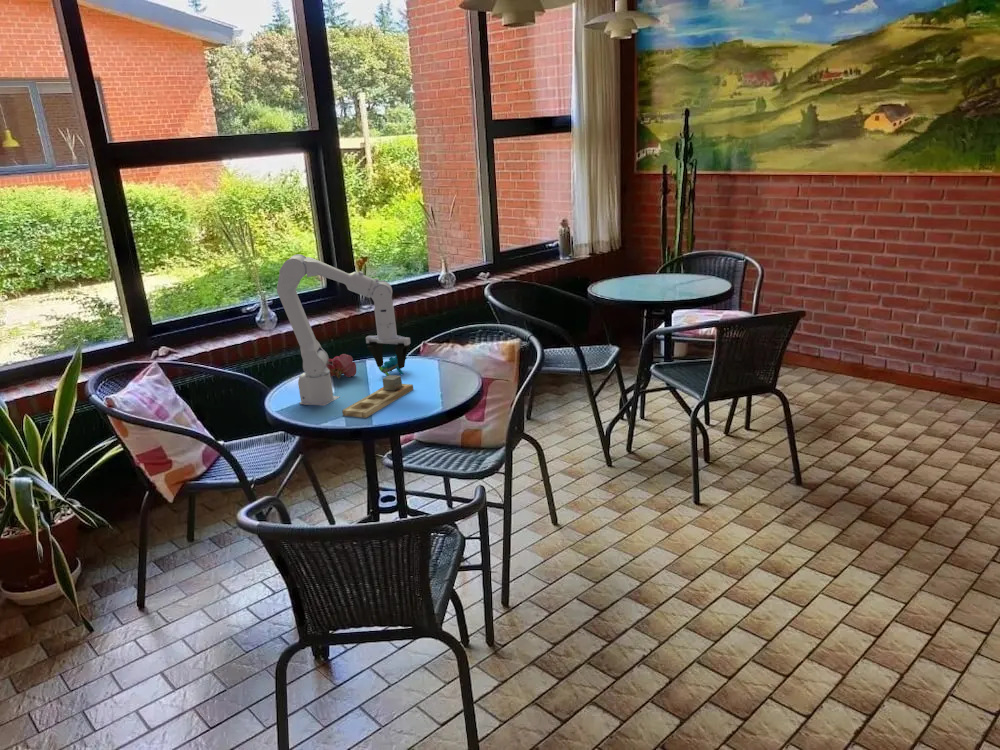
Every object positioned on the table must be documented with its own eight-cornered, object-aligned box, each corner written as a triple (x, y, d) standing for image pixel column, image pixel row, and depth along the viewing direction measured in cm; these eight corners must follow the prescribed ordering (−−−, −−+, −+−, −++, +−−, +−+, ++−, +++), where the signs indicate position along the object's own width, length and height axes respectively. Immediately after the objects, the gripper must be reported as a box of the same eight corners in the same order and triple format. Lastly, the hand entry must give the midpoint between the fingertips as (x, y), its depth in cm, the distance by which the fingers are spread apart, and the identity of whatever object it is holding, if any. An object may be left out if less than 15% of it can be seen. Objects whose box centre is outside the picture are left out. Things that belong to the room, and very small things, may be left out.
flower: (328, 385, 251) (336, 358, 253) (353, 389, 247) (361, 361, 250) (309, 375, 241) (318, 346, 243) (335, 379, 237) (344, 350, 239)
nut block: (384, 394, 224) (382, 379, 223) (391, 390, 228) (389, 375, 226) (395, 395, 223) (393, 379, 221) (402, 391, 226) (400, 375, 225)
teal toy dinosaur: (400, 362, 253) (407, 346, 245) (410, 376, 252) (418, 360, 244) (374, 375, 247) (380, 359, 239) (383, 388, 245) (390, 373, 238)
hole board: (343, 416, 210) (342, 409, 209) (391, 388, 231) (390, 382, 231) (366, 419, 206) (365, 412, 206) (413, 390, 228) (412, 384, 227)
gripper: (357, 325, 219) (363, 369, 223) (399, 327, 213) (404, 372, 217) (371, 319, 225) (376, 362, 229) (412, 321, 219) (416, 365, 223)
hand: (391, 366), depth 223 cm, fingers open, 7 cm apart
